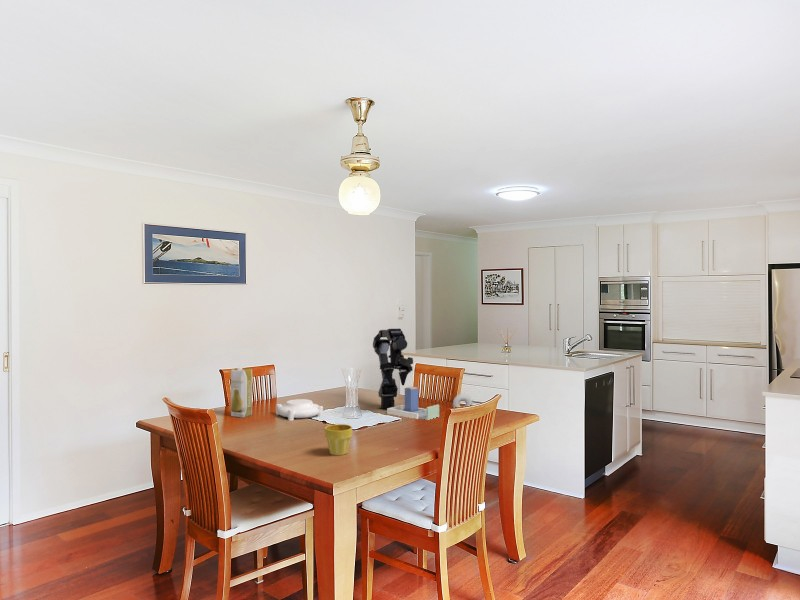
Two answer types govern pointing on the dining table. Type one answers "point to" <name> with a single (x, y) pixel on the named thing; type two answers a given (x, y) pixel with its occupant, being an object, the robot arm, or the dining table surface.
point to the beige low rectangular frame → (403, 412)
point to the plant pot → (338, 438)
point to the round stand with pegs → (299, 409)
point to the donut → (462, 398)
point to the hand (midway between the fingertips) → (397, 384)
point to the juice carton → (241, 392)
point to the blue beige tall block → (411, 399)
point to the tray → (428, 412)
